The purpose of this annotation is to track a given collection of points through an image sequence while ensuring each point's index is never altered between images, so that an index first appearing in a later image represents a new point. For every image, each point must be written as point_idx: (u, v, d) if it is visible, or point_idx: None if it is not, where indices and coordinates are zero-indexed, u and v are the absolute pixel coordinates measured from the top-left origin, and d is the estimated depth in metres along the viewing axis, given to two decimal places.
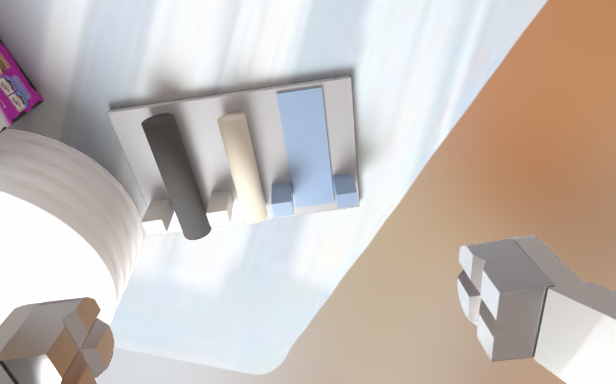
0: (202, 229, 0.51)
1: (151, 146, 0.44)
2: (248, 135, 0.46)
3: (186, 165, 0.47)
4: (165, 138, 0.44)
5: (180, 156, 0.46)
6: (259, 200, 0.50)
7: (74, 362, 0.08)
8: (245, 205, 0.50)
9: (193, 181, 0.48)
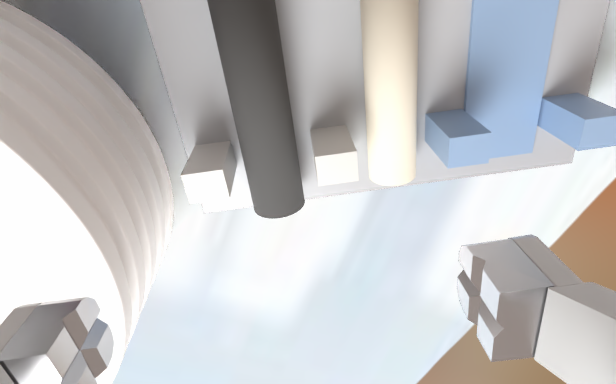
0: (293, 197, 0.26)
1: None
2: None
3: (279, 52, 0.22)
4: None
5: (271, 26, 0.21)
6: (413, 137, 0.25)
7: (74, 362, 0.08)
8: (386, 146, 0.25)
9: (287, 93, 0.24)
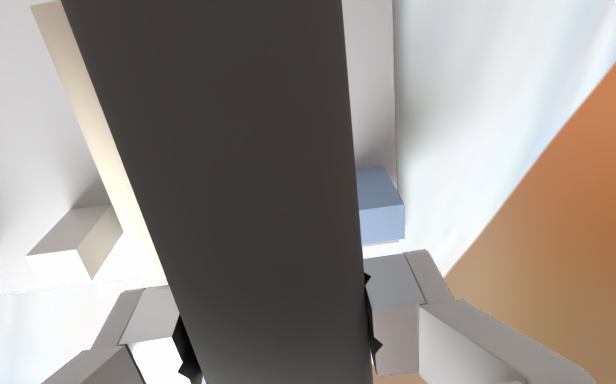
0: None
1: (114, 110, 0.05)
2: None
3: (360, 259, 0.07)
4: (260, 14, 0.04)
5: (344, 200, 0.06)
6: None
7: None
8: (132, 237, 0.21)
9: (368, 345, 0.08)
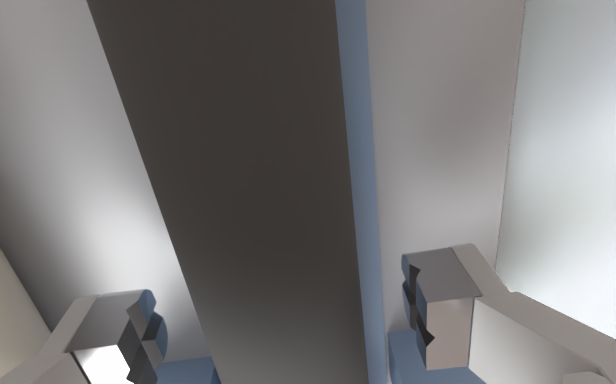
0: None
1: (132, 95, 0.05)
2: None
3: (352, 237, 0.08)
4: (261, 10, 0.05)
5: (337, 178, 0.07)
6: None
7: (136, 354, 0.08)
8: None
9: (361, 319, 0.09)
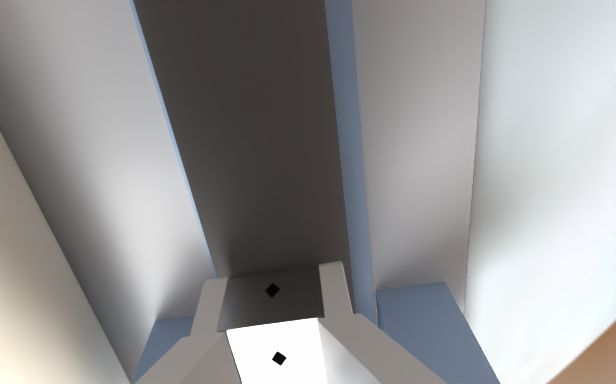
0: None
1: (166, 66, 0.07)
2: None
3: (340, 189, 0.09)
4: None
5: (326, 137, 0.08)
6: None
7: None
8: None
9: (349, 265, 0.10)
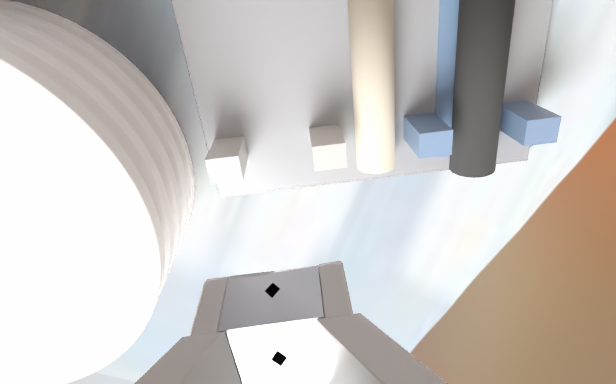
0: (494, 159, 0.32)
1: None
2: (393, 12, 0.28)
3: None
4: None
5: (513, 16, 0.27)
6: (392, 134, 0.31)
7: None
8: (370, 141, 0.31)
9: None
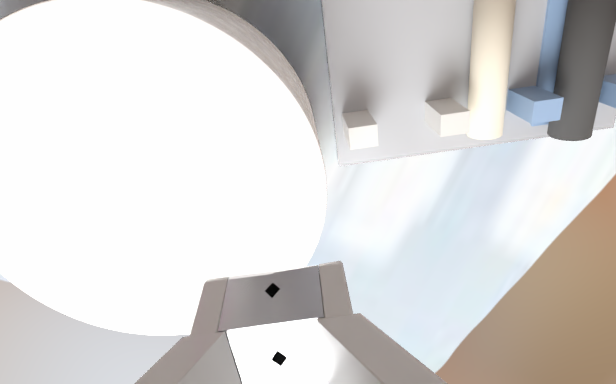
0: (593, 124, 0.36)
1: None
2: None
3: None
4: None
5: None
6: (504, 104, 0.36)
7: None
8: (486, 110, 0.35)
9: None
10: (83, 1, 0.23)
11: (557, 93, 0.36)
